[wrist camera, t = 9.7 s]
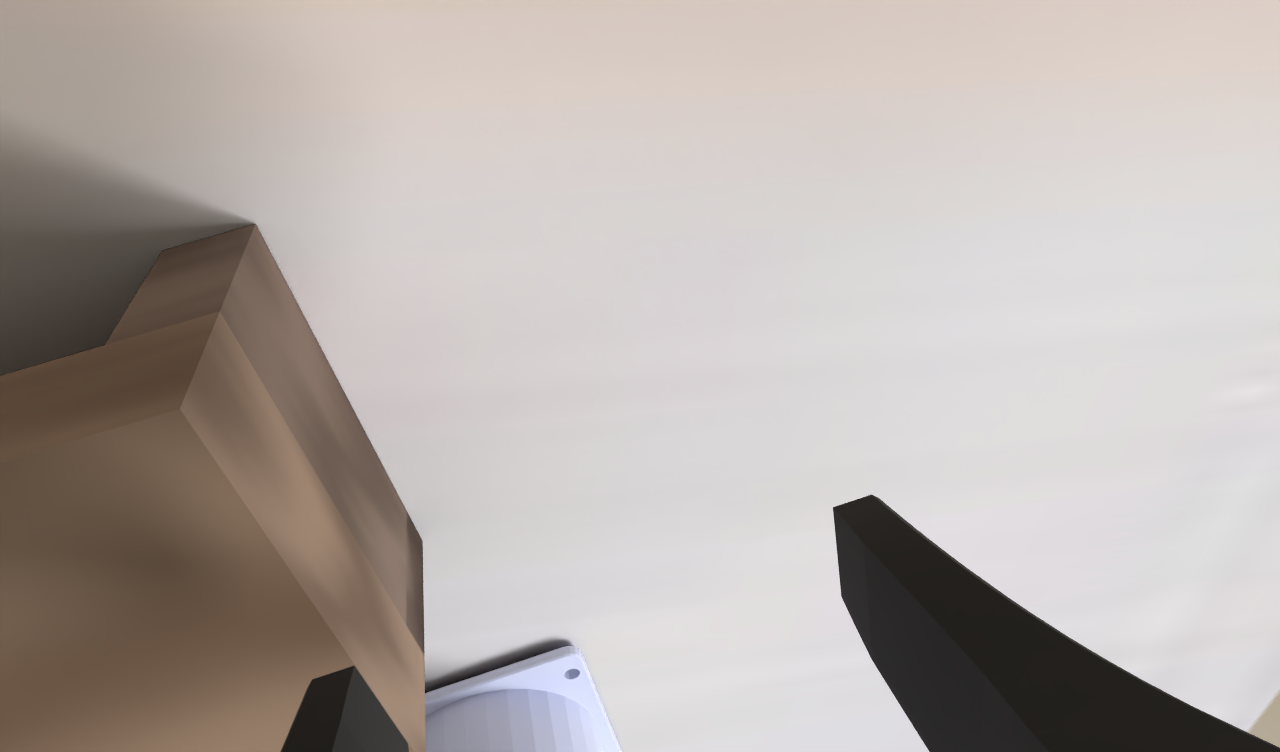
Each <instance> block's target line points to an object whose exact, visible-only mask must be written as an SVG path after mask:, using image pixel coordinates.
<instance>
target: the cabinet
mask: <svg viewBox="0 0 1280 752" xmlns="http://www.w3.org/2000/svg"><path fill="white" fill-rule="evenodd" d="M354 665H355V667H356V668H357V670H358V671H359V673H360V674H361V676H362V677H363V678H364V680H365V681H366V683H367V684H368V686H369V687H370V689H371V690H372V692H373V693H374V695H375V696H376V697H377V699H378V700H379V702H380V703H381V705H382V706H383V708H384V709H385V711H386V712H387V714H388V715H389V716H390V718H391V719H392V721H393V722H394V724H395V725H396V727H397V728H398V730H399V731H400V733H401V734H402V735H403V737H404V738H405V740H406V741H407V743H408V748H409V752H426V731H425V669H424V607H423V545H422V539H421V537H420V536H419V534H418V532H417V530H416V528H415V526H414V524H413V522H412V520H411V518H410V516H409V515H408V513H407V511H406V509H405V507H404V505H403V503H402V501H401V499H400V497H399V496H398V494H397V492H396V490H395V488H394V486H393V484H392V482H391V480H390V478H389V477H388V475H387V473H386V471H385V469H384V467H383V465H382V463H381V461H380V459H379V458H378V456H377V454H376V452H375V450H374V448H373V446H372V444H371V442H370V440H369V438H368V437H367V435H366V433H365V431H364V429H363V427H362V425H361V423H360V421H359V419H358V418H357V416H356V414H355V412H354V410H353V408H352V406H351V404H350V402H349V400H348V399H347V397H346V395H345V393H344V391H343V389H342V387H341V385H340V383H339V381H338V380H337V378H336V376H335V374H334V372H333V370H332V368H331V366H330V364H329V362H328V360H327V359H326V357H325V355H324V353H323V351H322V349H321V347H320V345H319V343H318V341H317V340H316V338H315V336H314V334H313V332H312V330H311V328H310V326H309V324H308V322H307V321H306V319H305V317H304V315H303V313H302V311H301V309H300V307H299V305H298V303H297V302H296V300H295V298H294V296H293V294H292V292H291V290H290V288H289V286H288V284H287V282H286V281H285V279H284V277H283V275H282V273H281V271H280V269H279V267H278V265H277V263H276V262H275V260H274V258H273V256H272V254H271V252H270V250H269V248H268V246H267V244H266V243H265V241H264V239H263V237H262V235H261V233H260V231H259V229H258V227H257V225H256V224H253V225H250V226H246V227H243V228H239V229H236V230H232V231H229V232H225V233H222V234H219V235H215V236H212V237H208V238H205V239H201V240H198V241H194V242H191V243H187V244H184V245H180V246H177V247H173V248H170V249H166V250H163V251H162V252H161V254H160V255H159V257H158V259H157V260H156V262H155V264H154V265H153V267H152V268H151V270H150V272H149V273H148V275H147V277H146V278H145V280H144V282H143V283H142V285H141V286H140V288H139V290H138V291H137V293H136V295H135V296H134V298H133V299H132V301H131V303H130V304H129V306H128V308H127V309H126V311H125V313H124V314H123V316H122V317H121V319H120V321H119V322H118V324H117V326H116V327H115V329H114V330H113V332H112V334H111V335H110V337H109V339H108V340H107V342H106V344H105V345H103V346H100V347H97V348H93V349H90V350H86V351H83V352H80V353H76V354H73V355H69V356H66V357H63V358H59V359H56V360H52V361H49V362H46V363H42V364H39V365H35V366H32V367H29V368H25V369H22V370H18V371H15V372H12V373H8V374H5V375H1V376H0V752H281V749H282V747H283V745H284V742H285V740H286V738H287V735H288V733H289V730H290V728H291V726H292V723H293V721H294V719H295V716H296V714H297V711H298V709H299V707H300V704H301V702H302V700H303V697H304V695H305V692H306V690H307V688H308V686H309V684H310V682H311V681H312V679H315V678H318V677H321V676H324V675H327V674H330V673H333V672H336V671H339V670H342V669H345V668H348V667H351V666H354Z"/></svg>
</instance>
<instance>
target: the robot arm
mask: <svg viewBox="0 0 1280 752" xmlns="http://www.w3.org/2000/svg"><path fill="white" fill-rule="evenodd" d="M833 512H834V523H835V533H836V543H837V554H838V564H839V575H840V585H841V596H842V599H843V601H844V603H845V605H846V607H847V609H848V611H849V613H850V615H851V618H852V620H853V622H854V624H855V626H856V628H857V630H858V632H859V634H860V636H861V638H862V640H863V642H864V644H865V646H866V648H867V650H868V652H869V655H870V657H871V659H872V660H873V662H874V664H875V665H876V667H877V668H878V670H879V672H880V673H881V675H882V677H883V678H884V680H885V681H886V683H887V685H888V686H889V688H890V689H891V691H892V693H893V694H894V696H895V697H896V699H897V701H898V702H899V704H900V705H901V707H902V709H903V710H904V712H905V713H906V715H907V717H908V718H909V720H910V721H911V723H912V724H913V726H914V728H915V729H916V731H917V732H918V734H919V736H920V737H921V739H922V740H923V742H924V744H925V745H926V747H927V748H928V750H929V751H930V752H1280V748H1279V747H1277V746H1275V745H1273V744H1271V743H1268V742H1266V741H1264V740H1262V739H1260V738H1258V737H1256V736H1254V735H1252V734H1249V733H1247V732H1245V731H1243V730H1241V729H1239V728H1237V727H1235V726H1233V725H1230V724H1228V723H1226V722H1224V721H1222V720H1220V719H1218V718H1216V717H1214V716H1211V715H1209V714H1207V713H1205V712H1203V711H1201V710H1199V709H1197V708H1195V707H1193V706H1191V705H1189V704H1187V703H1185V702H1183V701H1181V700H1179V699H1177V698H1175V697H1173V696H1172V695H1170V694H1168V693H1166V692H1164V691H1162V690H1160V689H1158V688H1156V687H1155V686H1153V685H1151V684H1149V683H1147V682H1145V681H1143V680H1141V679H1140V678H1138V677H1136V676H1134V675H1132V674H1131V673H1129V672H1127V671H1125V670H1124V669H1122V668H1120V667H1118V666H1117V665H1115V664H1113V663H1111V662H1109V661H1108V660H1106V659H1104V658H1102V657H1101V656H1099V655H1097V654H1096V653H1094V652H1092V651H1091V650H1089V649H1087V648H1086V647H1084V646H1082V645H1081V644H1079V643H1077V642H1076V641H1074V640H1073V639H1071V638H1069V637H1068V636H1066V635H1064V634H1063V633H1061V632H1060V631H1058V630H1057V629H1055V628H1054V627H1052V626H1050V625H1049V624H1047V623H1046V622H1044V621H1043V620H1041V619H1040V618H1038V617H1036V616H1035V615H1033V614H1032V613H1030V612H1029V611H1027V610H1026V609H1024V608H1023V607H1021V606H1020V605H1018V604H1017V603H1016V602H1014V601H1013V600H1011V599H1010V598H1008V597H1007V596H1005V595H1004V594H1002V593H1001V592H1000V591H998V590H997V589H995V588H994V587H993V586H991V585H990V584H988V583H987V582H986V581H984V580H983V579H981V578H980V577H979V576H977V575H976V574H974V573H973V572H972V571H970V570H969V569H967V568H966V567H965V566H963V565H962V564H961V563H959V562H958V561H957V560H955V559H954V558H953V557H951V556H950V555H949V554H947V553H946V552H945V551H944V550H942V549H941V548H940V547H938V546H937V545H936V544H935V543H933V542H932V541H931V540H929V539H928V538H927V537H926V536H924V535H923V534H922V533H921V532H919V531H918V530H917V529H915V528H914V527H913V526H912V525H911V524H909V523H908V522H907V521H906V520H904V519H903V518H902V517H901V516H900V515H898V514H897V513H896V512H895V511H893V510H892V509H891V508H890V507H889V506H887V505H886V504H885V503H884V502H883V501H882V500H880V499H879V498H877V497H875V496H873V495H869V496H866V497H863V498H860V499H857V500H854V501H851V502H848V503H845V504H842V505H839V506H836V507H833ZM425 731H426V752H622V751H621V748H620V746H619V743H618V741H617V738H616V736H615V733H614V731H613V729H612V726H611V724H610V721H609V719H608V716H607V714H606V711H605V709H604V706H603V704H602V702H601V699H600V697H599V694H598V692H597V689H596V687H595V684H594V682H593V679H592V677H591V675H590V672H589V670H588V667H587V665H586V662H585V660H584V657H583V655H582V652H581V651H580V650H579V648H576V647H574V646H565V647H561V648H558V649H555V650H552V651H549V652H546V653H543V654H540V655H537V656H534V657H531V658H528V659H525V660H522V661H520V662H517V663H514V664H511V665H508V666H505V667H502V668H499V669H496V670H493V671H490V672H487V673H484V674H481V675H478V676H475V677H472V678H469V679H466V680H463V681H460V682H457V683H454V684H451V685H448V686H445V687H442V688H439V689H436V690H433V691H430V692H427V693H425ZM281 752H409V748H408V743H407V741H406V740H405V738H404V737H403V735H402V734H401V733H400V731H399V730H398V728H397V727H396V725H395V724H394V722H393V721H392V719H391V718H390V716H389V715H388V714H387V712H386V711H385V709H384V708H383V706H382V705H381V703H380V702H379V700H378V699H377V697H376V696H375V695H374V693H373V692H372V690H371V689H370V687H369V686H368V684H367V683H366V681H365V680H364V678H363V677H362V676H361V674H360V673H359V671H358V670H357V668H356V667H355V665H354V666H351V667H348V668H345V669H342V670H339V671H336V672H333V673H330V674H327V675H324V676H321V677H318V678H315V679H312V681H311V682H310V684H309V686H308V688H307V690H306V692H305V695H304V697H303V700H302V702H301V704H300V707H299V709H298V711H297V714H296V716H295V719H294V721H293V723H292V726H291V728H290V730H289V733H288V735H287V738H286V740H285V742H284V745H283V747H282V749H281Z"/></svg>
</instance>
